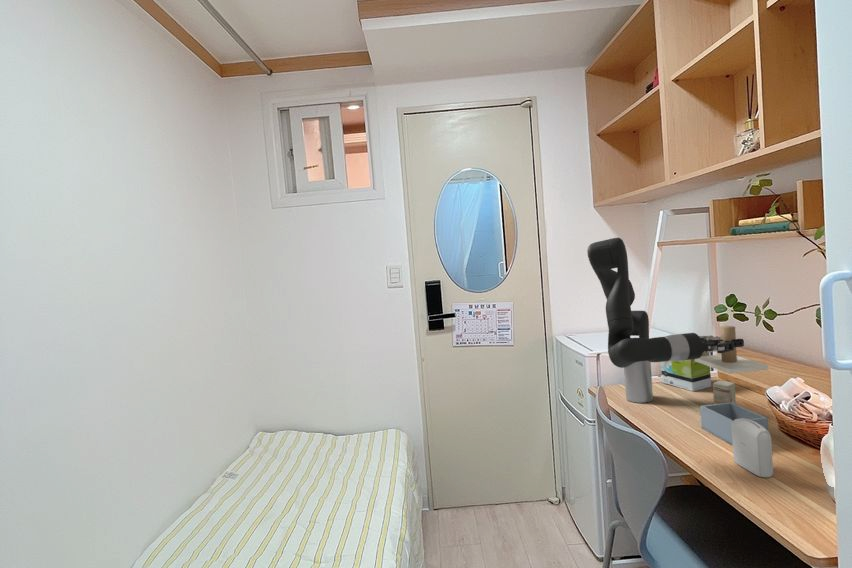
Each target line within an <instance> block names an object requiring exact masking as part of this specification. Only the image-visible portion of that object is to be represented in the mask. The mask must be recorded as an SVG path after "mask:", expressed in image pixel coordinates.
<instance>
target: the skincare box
mask: <svg viewBox="0 0 852 568" xmlns="http://www.w3.org/2000/svg"><path fill="white" fill-rule="evenodd" d="M712 391H713V392H712V393H713V404H721V403H729V402H732V403H734V404H736V403H737V401H736V399H737V398H736V383H735V382H732V381H726V380H720V379H719V380H717V381H714V382H712Z"/></svg>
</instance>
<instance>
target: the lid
mask: <svg viewBox="0 0 852 568" xmlns="http://www.w3.org/2000/svg"><path fill="white" fill-rule="evenodd" d="M719 333H720V334H719V335H720V336H719V338H720V339H722V340H728V339H730V340H732V339H737V335H736V333H737V332H736V326H733V325H721V326H719ZM695 361H696V362H698V363H701V364H704V365H707V366H710V368H712V369H715V370H718V371H720V372H723V373H726V374H729V375H730V374H742V373H749V372H758V371H767V370H769V365H768V364H765V363H762V362H759V361H755V360H753V359H749V358H745V357H741V356H738V355H737V347H734V350H733V351H728V352H724V353H719V354H711V355H709V356H702V357H700V358H698V359H695Z"/></svg>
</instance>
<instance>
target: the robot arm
mask: <svg viewBox="0 0 852 568" xmlns="http://www.w3.org/2000/svg"><path fill="white" fill-rule="evenodd" d="M586 251H587V257H588V258H587V259H588V261H589V264H590V266H591V268H592V270H593V271H594V273H595V275H596V277H597V279H598V281H599V282H600V285H601V288H602V291H603V294H604V296H605V299H606V303H605V314H606V322H607V328H608V334H607V335H608V336H607V353H608V358H609V360H610V361H611V363H612V364H613V365H614V366H615V367H617V368H620V369H623V372H624V375H623V376H624V386H625V398H626V399H625V400H627V401H628V400H629V401H628V402H630V403H638V404H639V403H641V404H643V403H650V402H652V401H654V395H653V394H654V393H653V381H652V378H653V375H652V363H661V362H664V361H681V360H690V359H698V358H700V357H701V356H702V354H703V352H704V351H705V352H707V353H709V354H710V353H713V352H717V353H718V354H721V353H724V352H728V351H733V350H734V347H736V348H742V347H744V346H745V343H744V342H745V341H744V340H745V339H743V338H736V339H732V340H730V339H728V340H722V339H720V336H714V335H698V334H697V333H695V332H688V333H679V334H669V335H665V336H658V337H651V338H650V321H649V315H648V312H646V311H645V310H632V307H631V306H632V305H633V304H634V301H635V299H636V294H635V290H634V287H633V284H632V282H631V280H630V279H629V278H630V276H629V275H630V274H629V262H628V261H629V259H628V253H627V248H626V245H625V242H624V241H623V238H621V237H614V238H613V237H612V238H609V239H603V240H599V241H596V242H592V243H590V244H589V245H588V246H587V250H586ZM616 268H617V269H616ZM613 269H616V270H617V271H615V270H613ZM632 336H635V337H632ZM637 336H638V337H637Z"/></svg>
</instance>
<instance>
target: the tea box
mask: <svg viewBox="0 0 852 568" xmlns="http://www.w3.org/2000/svg"><path fill="white" fill-rule="evenodd" d="M702 356H710V353H707V352H705V351H704V352H703V354H702ZM702 356H701V357H702ZM660 370H661V380H662V381H661V383H662V384H665V385H671V386H673V387H677V388H680V389H683V390H687V391H689V392H696V391H701V390H703V389H707V388H711V387H712V379H711V376H712V375H711V367H710V366H707V365H704V364H701V363H698V362H696V361H695V359H690V360H681V361H664V362H660Z"/></svg>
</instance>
